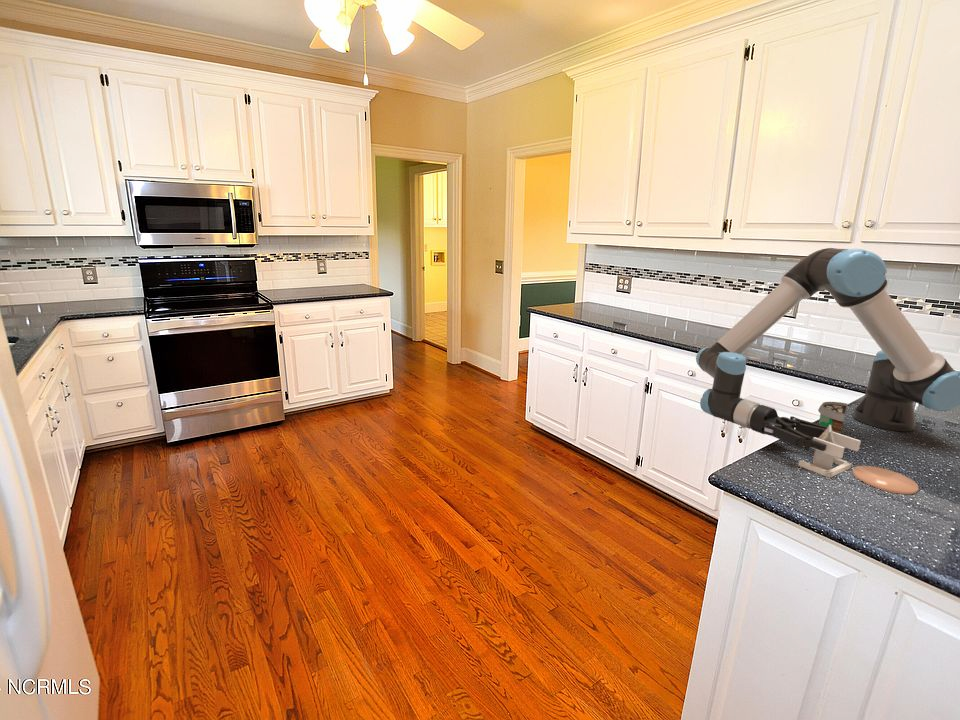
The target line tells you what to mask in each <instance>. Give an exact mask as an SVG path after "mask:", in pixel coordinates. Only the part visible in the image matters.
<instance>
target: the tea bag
mask: <svg viewBox="0 0 960 720" xmlns="http://www.w3.org/2000/svg"><path fill="white" fill-rule="evenodd" d="M818 438H819V439H822V440H824V441H827V442H830V443H833V444H836V440H835V437H834V435H833V432H832V428H831V425H830V424H829V426H828V428H827V429H826V430H825V431H824V432H823V433H822V434H821V435H820V436H819V437H818ZM834 457H835V456H832V455H829V454H826V453H824V452H821V451H818V450H815V449H814V453H813V457H812V458H813V459H812V465H815V466H817V467H820V468H823V469H825V470H830V469H833V464H834V463H833V460H834Z"/></svg>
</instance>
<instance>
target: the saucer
mask: <svg viewBox="0 0 960 720" xmlns="http://www.w3.org/2000/svg"><path fill="white" fill-rule="evenodd" d="M852 475H853V477H854V476H855V477H854V478H855V479H857V480H858V479H859V480H858V481H859V482H861V481H863V482H864V483H863V482H862V483H863V484H865V483H866V484H865V485H867V484H868V485H867V486H869V485H871V486H870V487H872V486H873V488H874V487H875V489H877V488H878V489H877V490H880V489H881V490H882V491H884V492H889V493H893V494H897V493H898V494H900V495H913V494H916V493H917V492H918V490H919V485H918V484H917V482H916V481H914V480H913V479H911V478H909V477H908V476H905V475H903V474H901V473H899V472H895V471H894V470H890V469H886V468H882V467H878V466H872V465H871V466H870V465H858V466H855V467H853V469H852ZM881 490H880V491H881ZM898 494H897V495H898Z"/></svg>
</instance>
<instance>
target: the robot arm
mask: <svg viewBox="0 0 960 720" xmlns="http://www.w3.org/2000/svg"><path fill="white" fill-rule="evenodd" d="M887 272H888V270H887V266H886V263H885V261H884V260H883V259H882V257H880V256H879V255H878V254H876V253H875V252H873V251H869V250H865V249H861V248H836V247H835V248H834V247H827V248H822V249H819V250H816V251H814V252H812V253H810V254H809V255H807V256H805V257H804V258H803V259H801V260H800V261H799V262H798V263H796V264H795V265H794V266H793V267H791V269H789V270H788V271H787V272H786V273H785V274H784V275H783V276H781V279H780V280H781V281H780V283H779V284H778V285H777V286H776V287H775V288H773V290H771V292H769V293H768V294H767V295H766V296H765V297H764V298H763V299H761V300H760V302H758V304H756V305H755V306H754V307H753V308H752V309H751V310H749V312H748V313H747V314H745V315H744V316H743V317H742V318H741V319H740V320H739V321H738V322H737V323H736V324H734V326H732V327H731V329H729V330H728V331H727V332H726V333H725V334H723V336H721V338H719V339H718V340H717V341H716V342H715V343H714V344H712V345H711V346H707V347H704V348H701V349H700V350H699V351H698V352H697V353H696V356H695V361H696V365H697V366H698V367H699V368H700V369H701V371H703V372H705V374H708V375H709V376H710V377H711V378H713V383H712V388H709V389H706V390H705V391H704V392H703V394H702V397H701V398H700V402H699V406H700V409H701V410H702V411H703V412H704V413H706V414H708V415H711V416H713V417H714V418H718V419H721V420H723V421H724V420H725V421H727V422H730V423H733V424H735V425H738V426H741V428H742V429H745V428H746V429H750V430H752V431H754V432H757V433H759V434H762V435H768V436H770V437H773V438H776V439H778V440H781V441H783V442H785V443H788V444H790V445H792V446H795V447H797V448H799V449H803V450H804V451H809V450H810V449H812V450H814V451H815V450H818V451H821V452H824V453H826V454H829V455H832V456H834V457H836V458H838V459H841V460H842V459H843V456H844V451H845V449H848V450H852V451H854V452H859V450H860V446H861V442H862V440H860V439H857V438H854V437H850V436H849V435H845V434H841V433H840V434H839V433H836V432H833V431H832V432H833V435H834V437H835V440H836V444H833V443H830V442H827V441H824V440H822V439H819V438H817V437H819V436H820V435H821V434H822V433H823V432H824V431H825V430H826V429H827V428H828V427H826V426H823V425H819V423H816V422H811V421H807V420H803V419H802V418H801V419H800V418H798V417H796V416H792V415H791V416H790V418H789V417H786V416H779V415H778V412H777V410H776V408H773V407H770V406H767V405H764V404H760V403H759V402H755V401H752V400H748V399H745V398H742V397H741V392H742V386H743V382H744V377H745V372H746V369H747V367H746V366H747V358H746V356H745V355H744V354H742V353H744V352H745V351H746V350H747V349H748V348H749V347H751V345H753V343H755V342H756V341H758V339H760V338H761V337H762V336H763V335H764V334H765V333H766V332H768V331H769V329H771V328H772V327H773V326H775V324H776V323H778V321H780V320H781V319H783V318H784V316H785V315H787V314H788V313H789V312H790V311H791V310H793V308H794V307H796V306H797V305H798V304H799V303H800V302H802V301H803V300H809V299H810V298H811V297H813V295H815V294H816V293H818V292H820V291H825V292H828V293H829V294H830V295H831V297H832V298H833V299H834V300H835V302H836V303H837V304H838V305H839V307H842V308H847V309H850V310H851V311H852V313H853V314H854V316H855V317H856V318H857V320H858V321H859V322H860V324H861V325H862V326H863V328H864V329H865V330H866V332H867V333H869V335H870V336H871V338H872V339H873V341H874V342H875V343H876V344H877V346H878V347H879V348H880V349H881V350H880V351H878V352H876V354H875V357H874V359H873V361H872V367H871V371H870V375H869V379H868V382H867V383H868V384H867V387H866V391H865V394H864V395H863V397H862V398H861V400H860V401H859V402H858V403H857V405H856V406H855V408H854V409H853V413H852V417H853V419H855V420H857V421H858V422H860V423H863V424H865V425H868V426H871V427H874V428H879V429H882V430H883V429H884V430H889V431H893V432H894V431H896V432H911V431H914V430H915V428H916V424H917V423H916V420H917V419H916V414H915V413H916V412H915V407H914V403H916V404H919V405H920V406H923V407H925V408H926V409H929V410H932V411H933V410H934V411H937V412H948V411H953V410H954V409H957V408H959V407H960V371H959V370H955V369H954V368H953V367H952V365H950V363H949V362H948V361H947V359H946V358H945V357H944V355H943V354H941V353H939V352H933V351H931V350H930V349H929V347H928V345H927V344H926V343H925V342H924V340H923V339H922V338H921V335H919V334H918V332H917V331H916V329H915V328H914V327H913V326H912V324H911V323H910V322H909V320H908V319H907V318H906V316H905V315H904V313H903V312H902V310H900V308H899V306H897V304H896V302H895V301H894V300H893V299H892V297H891V296H890V295H889V294H888V292H887V290H886V288H887V286H888V285H889V284H888V283H889V281H888V280H887V278H886V277H887V276H886V274H887ZM831 428H832V427H831Z"/></svg>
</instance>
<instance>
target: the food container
mask: <svg viewBox="0 0 960 720" xmlns="http://www.w3.org/2000/svg"><path fill="white" fill-rule="evenodd" d="M847 408H848V403H845V402H840V401H839V402H838V401H825V402H822V404H820V405H819V408H818V409H817V411H818V413H819V421H818V422H819V423H818V424H819V425H823V426H826V427H828V426H829V424H830V425H831V427H832V431H833V432H836V433H839V434H841V433H842V428H843V425H844V422H845V417H846V411H847ZM816 438H818V437H816Z"/></svg>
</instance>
